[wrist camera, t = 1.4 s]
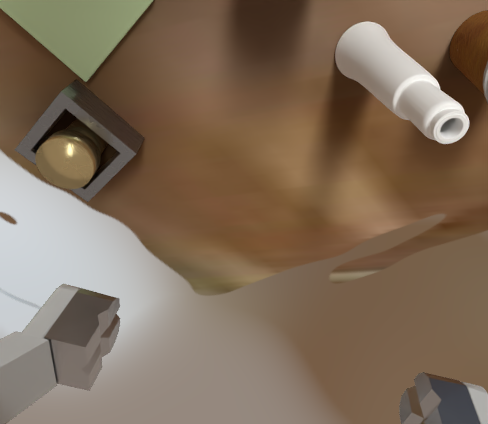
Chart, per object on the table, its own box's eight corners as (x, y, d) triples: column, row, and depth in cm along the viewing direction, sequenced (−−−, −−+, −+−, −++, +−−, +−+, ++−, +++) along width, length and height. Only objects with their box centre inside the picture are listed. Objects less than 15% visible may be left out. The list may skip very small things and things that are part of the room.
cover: (54, 134, 48) (24, 164, 41) (81, 103, 45) (54, 129, 39) (95, 165, 50) (72, 198, 44) (122, 137, 48) (103, 167, 41)
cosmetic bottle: (325, 43, 41) (388, 116, 23) (376, 8, 40) (488, 59, 22) (348, 89, 44) (421, 185, 26) (397, 58, 42) (512, 139, 24)
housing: (32, 134, 47) (14, 149, 44) (76, 79, 44) (61, 91, 40) (98, 183, 52) (87, 202, 48) (144, 138, 48) (136, 153, 44)
